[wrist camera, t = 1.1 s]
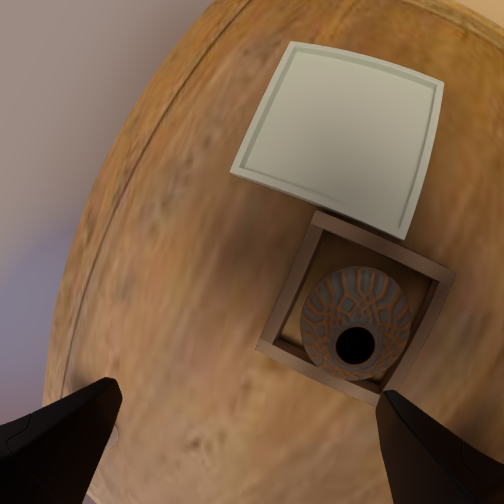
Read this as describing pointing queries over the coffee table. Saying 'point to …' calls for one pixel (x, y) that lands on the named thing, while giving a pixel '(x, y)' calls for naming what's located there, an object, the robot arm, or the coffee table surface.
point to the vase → (355, 323)
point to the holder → (295, 281)
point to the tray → (344, 135)
